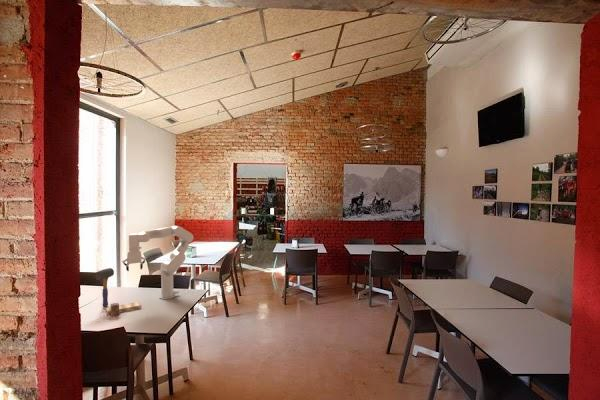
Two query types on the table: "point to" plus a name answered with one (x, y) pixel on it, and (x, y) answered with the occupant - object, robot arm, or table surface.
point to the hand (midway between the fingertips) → (134, 270)
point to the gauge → (114, 309)
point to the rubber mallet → (104, 282)
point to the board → (125, 307)
